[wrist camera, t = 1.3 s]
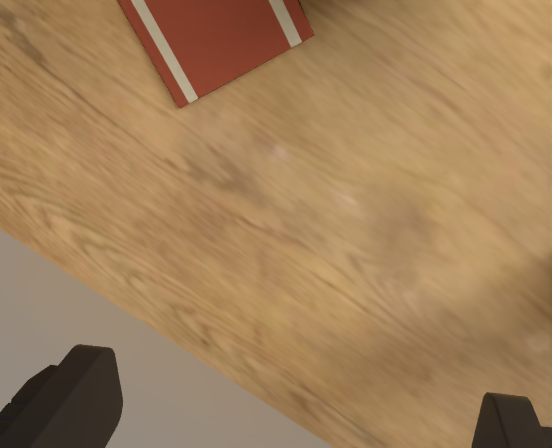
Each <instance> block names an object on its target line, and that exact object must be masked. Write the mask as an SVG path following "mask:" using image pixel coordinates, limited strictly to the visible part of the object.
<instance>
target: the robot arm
mask: <svg viewBox="0 0 552 448" xmlns="http://www.w3.org/2000/svg"><path fill="white" fill-rule="evenodd" d="M122 407H123V397H122V391H121V386H120V380H119V375H118V369H117V363H116V357H115V353H114V351H113V350H112V349H111V348H107V347H99V346H89V345H81V344H79V345H76V346H75V347H73V348H72V349H71V351H70V352H69V353H68V354H67V356H66V357H65V358H64V359H63V360H62V362H61V363H60V364H59V365H58V366H55V365H50V366H48V367H47V368H45V369H44V370H42V371H41V372H40V373H38V374H36V375H35V376H33V377H32V378H30V379H29V380H28V381H27V382H26V383H25V384H24V385H23V387H22V388H21V389H20V390H19V391H18V392H17V393H16V395H15V396H14V397H13V398H12V401H11V403H8V404H7V405H6V406H5V407H4V408H3V410H2V411H1V412H0V448H105V447H106V445H107V443H108V441H109V440H110V438H111V436H112V434H113V433H114V431H115V428H116V427H117V425H118V423H119V420H120V417H121V413H122ZM471 448H552V428H551V427H543V426H540V423H539V421H538V418H537V416H536V413H535V411H534V409H533V406H532V404H531V402H530V400H529V399H528V398H527V397H524V396H515V395H506V394H498V393H489V392H487V393H486V394H485V395H484V397H483V401H482V405H481V409H480V413H479V417H478V422H477V426H476V430H475V434H474V438H473V442H472V447H471Z"/></svg>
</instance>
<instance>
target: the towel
mask: <svg viewBox="0 0 552 448" xmlns="http://www.w3.org/2000/svg"><path fill="white" fill-rule="evenodd" d="M118 2H119V4H120V6H121V7H122V9H123V11H124V13H125V14H126V16H127V18H128V20H129V21H130V23H131V25H132V26H133V28H134V30H135V32H136V33H137V35H138V37H139V39H140V40H141V42H142V44H143V46H144V47H145V49H146V51H147V53H148V54H149V56H150V58H151V60H152V61H153V63H154V65H155V67H156V68H157V70H158V72H159V74H160V75H161V77H162V79H163V81H164V82H165V84H166V86H167V88H168V89H169V91H170V93H171V95H172V96H173V98H174V100H175V102H176V103H177V105H178V107H179V108H182V107H183V106H185V105H187V104H189V103H191V102H193V101H194V100H196V99H198V98H200V97H202V96H204V95H205V94H207V93H209V92H211V91H213V90H215V89H217V88H218V87H220V86H222V85H224V84H226V83H228V82H229V81H231V80H233V79H235V78H237V77H239V76H240V75H242V74H244V73H246V72H248V71H250V70H251V69H253V68H255V67H257V66H259V65H261V64H263V63H264V62H266V61H268V60H270V59H272V58H274V57H275V56H277V55H279V54H281V53H283V52H285V51H286V50H288V49H290V48H292V47H294V46H296V45H297V44H299V43H301V42H303V41H305V40H307V39H309V38H310V37H312V36H314V34H313V32H312V29H311V27H310V25H309V23H308V21H307V19H306V16H305V14H304V12H303V10H302V8H301V6H300V3H299V1H298V0H118Z"/></svg>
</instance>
